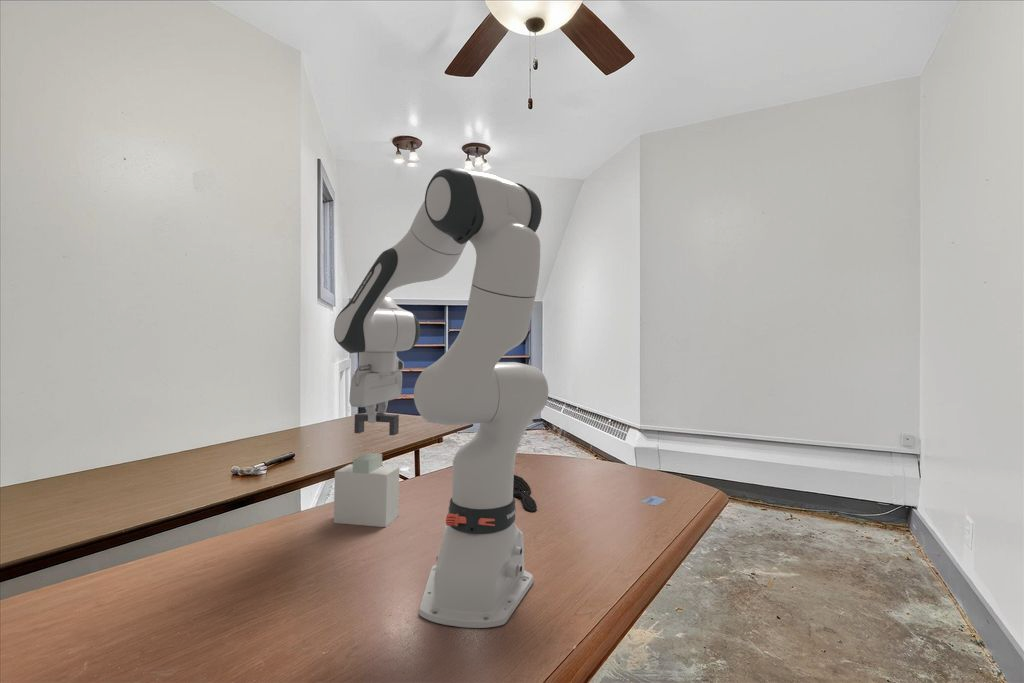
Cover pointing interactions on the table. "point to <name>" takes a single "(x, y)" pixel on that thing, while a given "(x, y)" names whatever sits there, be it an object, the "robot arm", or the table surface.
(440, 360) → the robot arm
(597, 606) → the table surface
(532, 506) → the hairbrush
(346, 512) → the stand
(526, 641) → the table surface
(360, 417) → the frame
